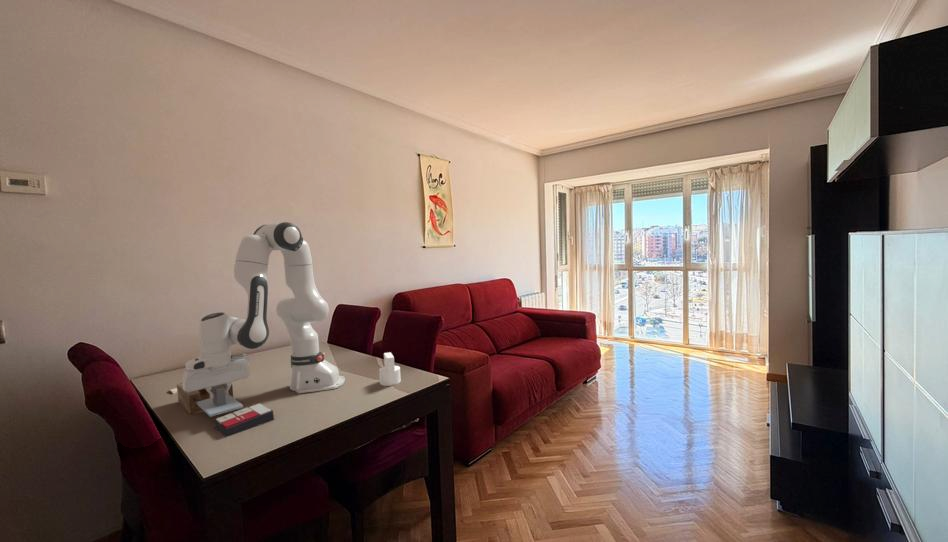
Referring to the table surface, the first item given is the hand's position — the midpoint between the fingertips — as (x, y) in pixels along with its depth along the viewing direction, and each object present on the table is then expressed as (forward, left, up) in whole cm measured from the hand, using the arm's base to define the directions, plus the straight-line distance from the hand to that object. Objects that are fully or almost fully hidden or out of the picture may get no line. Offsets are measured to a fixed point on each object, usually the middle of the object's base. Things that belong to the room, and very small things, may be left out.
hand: (219, 396), depth 138 cm
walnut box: (+14, -15, -8) cm, 22 cm away
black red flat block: (-12, +7, -8) cm, 16 cm away
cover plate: (0, 0, -4) cm, 4 cm away
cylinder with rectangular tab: (-57, -26, -8) cm, 63 cm away
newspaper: (+31, -39, -9) cm, 50 cm away
